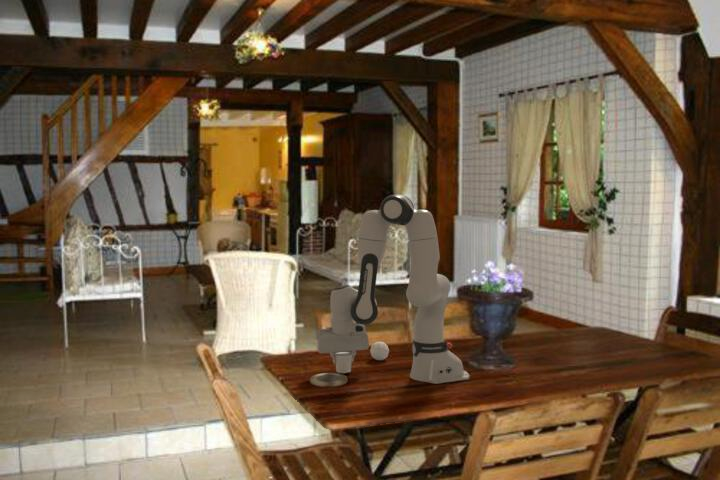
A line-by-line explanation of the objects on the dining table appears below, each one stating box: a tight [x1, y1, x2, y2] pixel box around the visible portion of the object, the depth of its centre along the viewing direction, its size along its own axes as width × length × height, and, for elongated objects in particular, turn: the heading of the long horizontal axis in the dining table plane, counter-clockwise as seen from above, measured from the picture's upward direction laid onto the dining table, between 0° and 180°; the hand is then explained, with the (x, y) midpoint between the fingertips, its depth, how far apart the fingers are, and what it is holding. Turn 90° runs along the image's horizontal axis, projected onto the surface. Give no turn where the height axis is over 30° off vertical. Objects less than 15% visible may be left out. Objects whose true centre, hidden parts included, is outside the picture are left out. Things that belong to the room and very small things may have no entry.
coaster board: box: [309, 372, 348, 388], centre depth 268 cm, size 14×14×1 cm
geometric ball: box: [369, 341, 390, 361], centre depth 298 cm, size 8×8×8 cm
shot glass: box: [334, 351, 353, 374], centre depth 278 cm, size 7×7×7 cm
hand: (343, 362), depth 278 cm, fingers closed on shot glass, 5 cm apart
